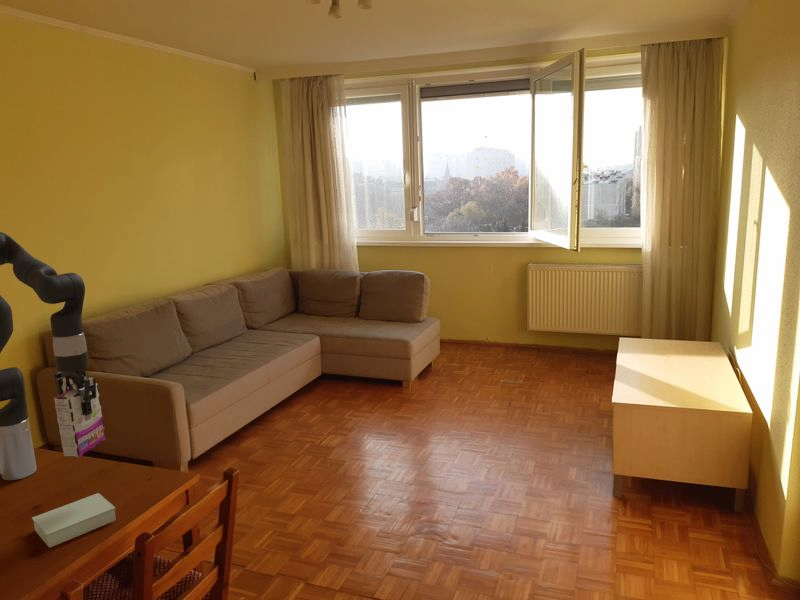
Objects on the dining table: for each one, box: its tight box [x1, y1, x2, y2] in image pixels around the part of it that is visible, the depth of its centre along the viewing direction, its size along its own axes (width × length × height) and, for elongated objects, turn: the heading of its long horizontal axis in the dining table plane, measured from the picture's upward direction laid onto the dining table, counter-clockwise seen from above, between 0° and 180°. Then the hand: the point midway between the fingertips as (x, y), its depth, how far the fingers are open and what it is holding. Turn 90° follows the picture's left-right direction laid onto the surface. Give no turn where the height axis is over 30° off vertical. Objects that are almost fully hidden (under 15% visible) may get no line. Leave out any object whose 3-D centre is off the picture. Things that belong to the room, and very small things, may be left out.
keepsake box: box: [31, 492, 117, 549], centre depth 159 cm, size 16×11×4 cm
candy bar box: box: [53, 382, 107, 458], centre depth 162 cm, size 11×5×16 cm, turn 169°
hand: (79, 412), depth 162 cm, fingers closed on candy bar box, 6 cm apart
